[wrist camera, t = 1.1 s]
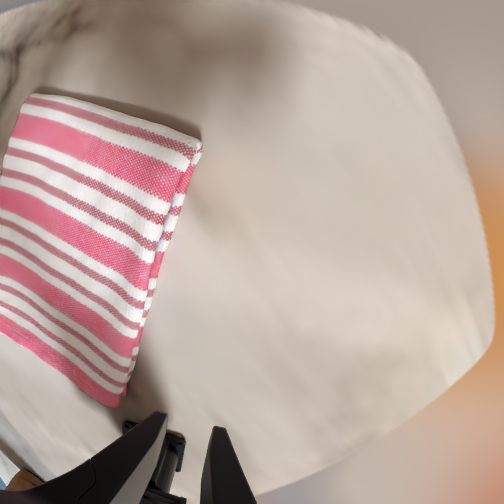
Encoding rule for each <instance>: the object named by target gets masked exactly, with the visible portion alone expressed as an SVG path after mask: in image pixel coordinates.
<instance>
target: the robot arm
mask: <svg viewBox="0 0 504 504" xmlns="http://www.w3.org/2000/svg"><path fill="white" fill-rule="evenodd" d="M167 420H168V414H167V413H165V412H162V411H158V410H156V411H154V412H153V413H152V414H151V415H149V416H148V417H147V418H145V419H144V420H143V421H141V422H140V423H139V424H135V423H132V422H130V421H124V422H123V424H122V427H123V435H122V436H121V437H120V438H118V439H117V440H116V441H114V442H113V443H111V444H110V445H109V446H107V447H106V448H104V449H103V450H101V451H100V452H99V453H97V454H96V455H94V456H93V457H91V460H90V459H88V460H87V461H85V462H84V463H82V464H81V465H79V466H78V467H76V468H74V469H73V470H71V471H69V472H67V473H65V474H63V475H61V476H59V477H57V478H54V479H52V480H50V481H47V482H45V483H42V484H40V485H38V486H35V487H33V488H30V489H26V490H19V491H12V490H0V504H186V500H187V499H186V498H183V497H178V496H175V495H172V494H169V492H170V488H171V484H172V481H173V477H174V473H175V471H176V472H180V471H181V467H182V461H183V455H184V450H185V444H186V441H185V440H184V439H183V438H180V437H176V436H173V435H169V434H166V429H167ZM200 504H257V502H256V500H255V498H254V495H253V493H252V491H251V489H250V486H249V484H248V482H247V479H246V477H245V475H244V472H243V470H242V468H241V465H240V463H239V460H238V458H237V456H236V453H235V451H234V448H233V446H232V443H231V440H230V438H229V435H228V433H227V430H226V429H225V428H223V427H219V426H214V427H213V429H212V433H211V436H210V440H209V444H208V449H207V454H206V459H205V463H204V468H203V473H202V479H201V494H200Z"/></svg>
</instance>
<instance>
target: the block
mask: <svg viewBox="0 0 504 504" xmlns="http://www.w3.org/2000/svg"><path fill="white" fill-rule="evenodd" d="M42 483H43V482H42V481H41V480H40V479H38V478H37V477H36V476H34V475H33V474H32V473H30V472H28V471H27V470H25V469H22V470H20V471H19V472H18V473H17V474H16V475H15V476H14V477H13V478H12V480H11V481H10V483H9V485H8V486H7V487H6V489H5V490H12V491H19V490H26V489H30V488H33V487H35V486H38V485H40V484H42Z"/></svg>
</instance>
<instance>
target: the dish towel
mask: <svg viewBox="0 0 504 504" xmlns="http://www.w3.org/2000/svg"><path fill="white" fill-rule="evenodd" d="M201 154H202V142H201V141H200V140H199V139H197V138H194V137H192V136H189V135H185V134H183V133H181V132H178V131H176V130H174V129H172V128H169V127H166V126H164V125H161V124H157V123H153V122H150V121H147V120H144V119H140V118H136V117H133V116H129V115H126V114H124V113H121V112H117V111H114V110H111V109H108V108H105V107H102V106H99V105H96V104H93V103H90V102H87V101H81V100H78V99H75V98H72V97H67V96H60V95H46V94H39V93H33V94H31V95H30V96H28V98H27V99H26V101H25V102H24V103H23V105H22V107H21V109H20V113H19V116H18V119H17V122H16V125H15V127H14V130H13V132H12V135H11V137H10V139H9V143H8V147H7V151H6V153H5V156H4V159H3V166H2V173H1V176H0V333H1V334H3V335H5V336H7V337H8V338H10V339H11V340H12V341H14V342H15V343H17V344H18V345H20V346H22V347H24V348H27V349H29V350H30V351H32V352H33V353H35V354H36V355H37V356H38V357H39V358H40V359H42V360H43V361H44V362H45V363H47V364H48V365H50V366H51V367H53V368H54V369H56V370H58V371H59V372H61V373H62V374H64V375H65V376H66V377H68V378H69V379H70V380H72V381H73V382H74V383H75V384H76V385H77V386H78V387H79V388H80V389H81V390H82V391H84V392H85V393H87V394H88V395H89V396H91V397H92V398H94V399H95V400H97V401H99V402H100V403H102V404H103V405H104V406H108V407H114V408H117V407H118V406H119V404H120V397H124V396H126V392H127V382H128V381H129V379H130V377H131V374H132V371H133V369H134V366H135V363H136V357H137V355H138V351H139V342H140V337H141V332H142V329H143V326H144V325H145V321H146V318H147V313H148V310H149V308H150V305H151V302H152V298H153V292H154V290H155V288H156V282H157V278H158V272H159V268H160V265H161V261H162V258H163V255H164V253H165V251H166V249H167V247H168V245H169V242H170V240H171V235H172V233H173V231H174V228H175V226H176V223H177V221H178V217H179V215H180V210H181V207H182V205H183V203H184V199H185V197H186V191H187V187H188V184H189V181H190V178H191V175H192V172H193V169H194V167H195V165H196V164H197V162H198V160H199V159H200V157H201Z"/></svg>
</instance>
